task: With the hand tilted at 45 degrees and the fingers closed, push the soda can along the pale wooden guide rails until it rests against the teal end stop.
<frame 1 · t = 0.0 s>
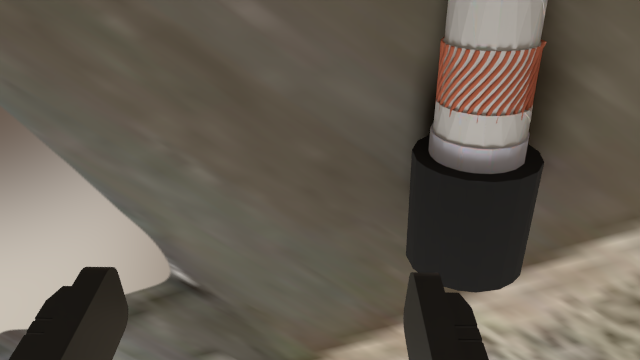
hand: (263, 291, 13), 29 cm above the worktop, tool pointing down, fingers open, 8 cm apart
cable: (471, 52, 40), on the worktop
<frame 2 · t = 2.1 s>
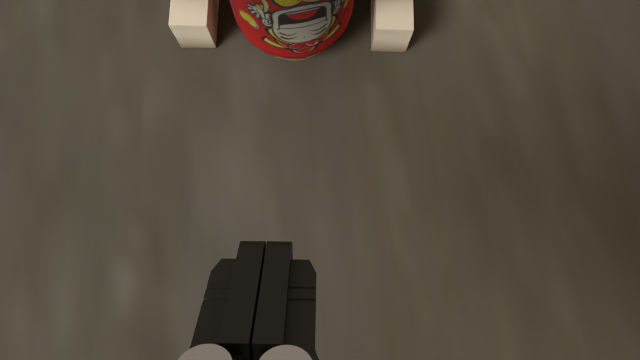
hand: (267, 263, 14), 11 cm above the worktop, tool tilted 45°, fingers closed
soda can: (294, 20, 29), on the worktop
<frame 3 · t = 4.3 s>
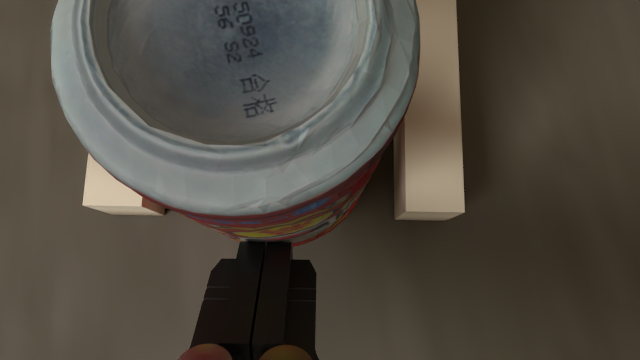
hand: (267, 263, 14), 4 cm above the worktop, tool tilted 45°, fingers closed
guide rails: (286, 8, 21), on the worktop
soda can: (281, 168, 19), on the worktop, touching gripper
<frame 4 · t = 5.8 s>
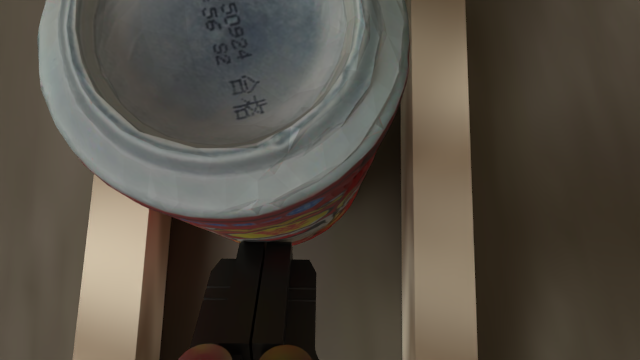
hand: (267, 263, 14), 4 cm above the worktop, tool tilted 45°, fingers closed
guide rails: (287, 196, 19), on the worktop
soda can: (277, 167, 19), on the worktop, touching gripper
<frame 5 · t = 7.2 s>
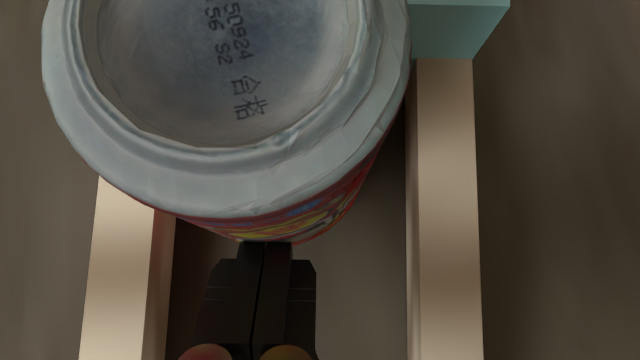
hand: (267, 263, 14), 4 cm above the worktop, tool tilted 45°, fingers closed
guide rails: (287, 306, 18), on the worktop
soda can: (279, 167, 19), on the worktop, touching gripper
end stop: (297, 47, 20), on the worktop
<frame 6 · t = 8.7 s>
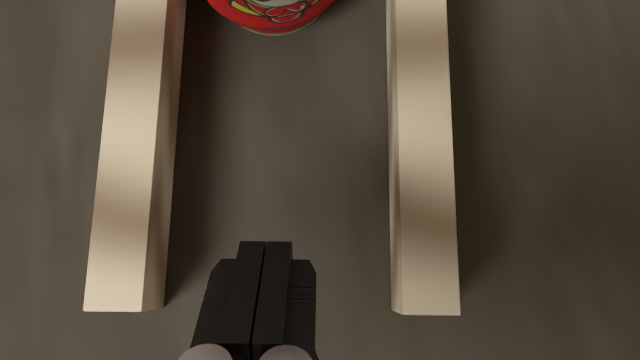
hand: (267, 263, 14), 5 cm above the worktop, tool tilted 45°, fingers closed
guide rails: (283, 93, 21), on the worktop
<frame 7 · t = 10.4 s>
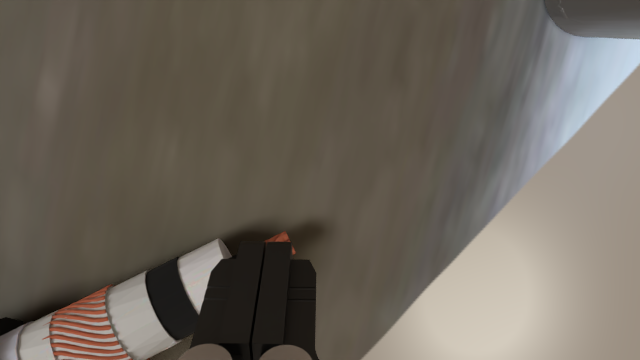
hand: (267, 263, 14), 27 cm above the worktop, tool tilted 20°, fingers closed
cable: (116, 306, 44), on the worktop
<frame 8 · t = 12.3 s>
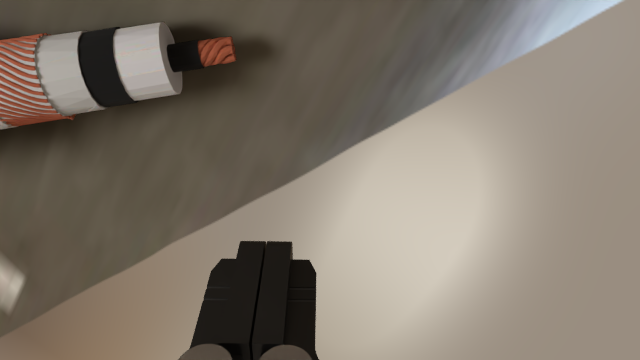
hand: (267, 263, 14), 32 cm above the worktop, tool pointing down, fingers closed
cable: (56, 62, 44), on the worktop
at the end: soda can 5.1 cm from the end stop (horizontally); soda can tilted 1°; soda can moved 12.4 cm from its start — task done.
